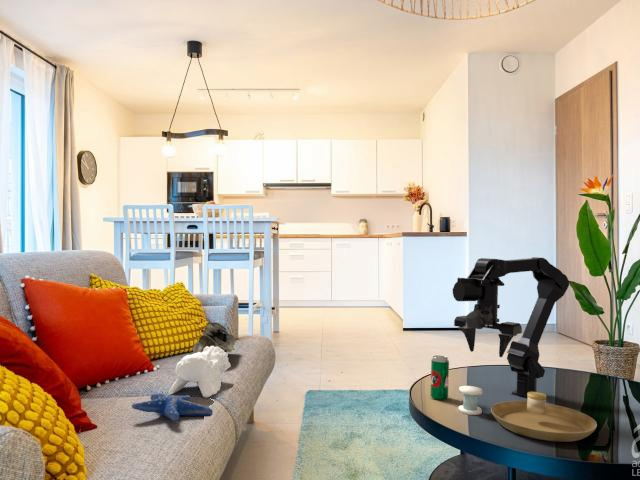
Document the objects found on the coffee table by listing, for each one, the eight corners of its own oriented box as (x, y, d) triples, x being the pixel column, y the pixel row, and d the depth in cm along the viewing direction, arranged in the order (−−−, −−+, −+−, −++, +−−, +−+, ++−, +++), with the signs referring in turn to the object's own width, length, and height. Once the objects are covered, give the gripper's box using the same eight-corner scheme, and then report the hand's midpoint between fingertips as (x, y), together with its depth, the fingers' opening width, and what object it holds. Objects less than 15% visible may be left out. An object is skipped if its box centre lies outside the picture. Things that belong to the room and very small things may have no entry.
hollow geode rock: (221, 362, 200) (196, 334, 200) (244, 341, 199) (220, 313, 200) (201, 379, 172) (172, 346, 172) (228, 354, 171) (200, 322, 172)
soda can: (448, 401, 142) (449, 359, 142) (430, 400, 143) (431, 358, 143) (447, 396, 147) (448, 355, 147) (430, 394, 148) (431, 354, 148)
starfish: (203, 430, 115) (204, 409, 115) (123, 428, 115) (124, 406, 115) (220, 404, 134) (221, 386, 134) (152, 402, 134) (152, 384, 134)
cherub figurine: (236, 348, 157) (211, 354, 137) (232, 388, 155) (206, 400, 136) (198, 344, 159) (167, 350, 140) (193, 383, 158) (162, 395, 138)
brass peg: (531, 407, 129) (532, 390, 129) (548, 412, 126) (549, 394, 126) (523, 411, 126) (524, 393, 126) (540, 415, 123) (541, 398, 123)
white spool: (466, 406, 138) (467, 384, 138) (486, 412, 134) (486, 389, 134) (454, 410, 134) (454, 388, 134) (474, 416, 130) (474, 393, 130)
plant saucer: (492, 406, 140) (492, 395, 140) (589, 420, 131) (589, 407, 131) (488, 436, 117) (488, 422, 117) (604, 455, 108) (605, 439, 108)
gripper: (444, 299, 147) (443, 352, 147) (504, 306, 134) (502, 364, 133) (464, 297, 155) (463, 347, 155) (523, 303, 141) (521, 358, 141)
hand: (486, 354), depth 146 cm, fingers open, 9 cm apart
